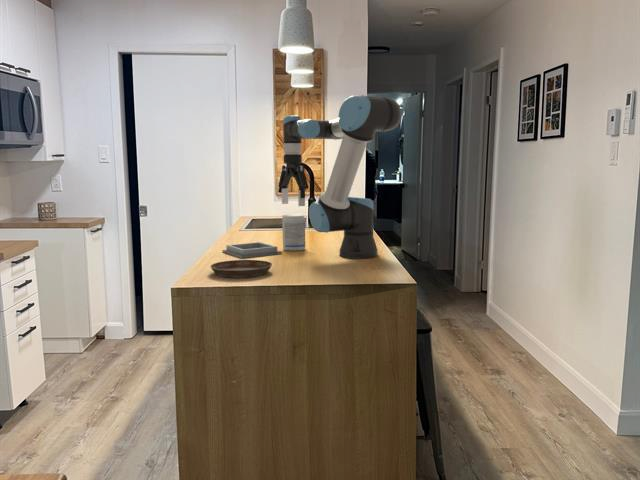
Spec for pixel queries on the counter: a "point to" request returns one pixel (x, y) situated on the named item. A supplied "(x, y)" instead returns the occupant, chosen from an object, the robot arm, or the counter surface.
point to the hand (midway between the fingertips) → (293, 205)
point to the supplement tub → (293, 232)
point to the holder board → (251, 250)
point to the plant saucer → (241, 268)
